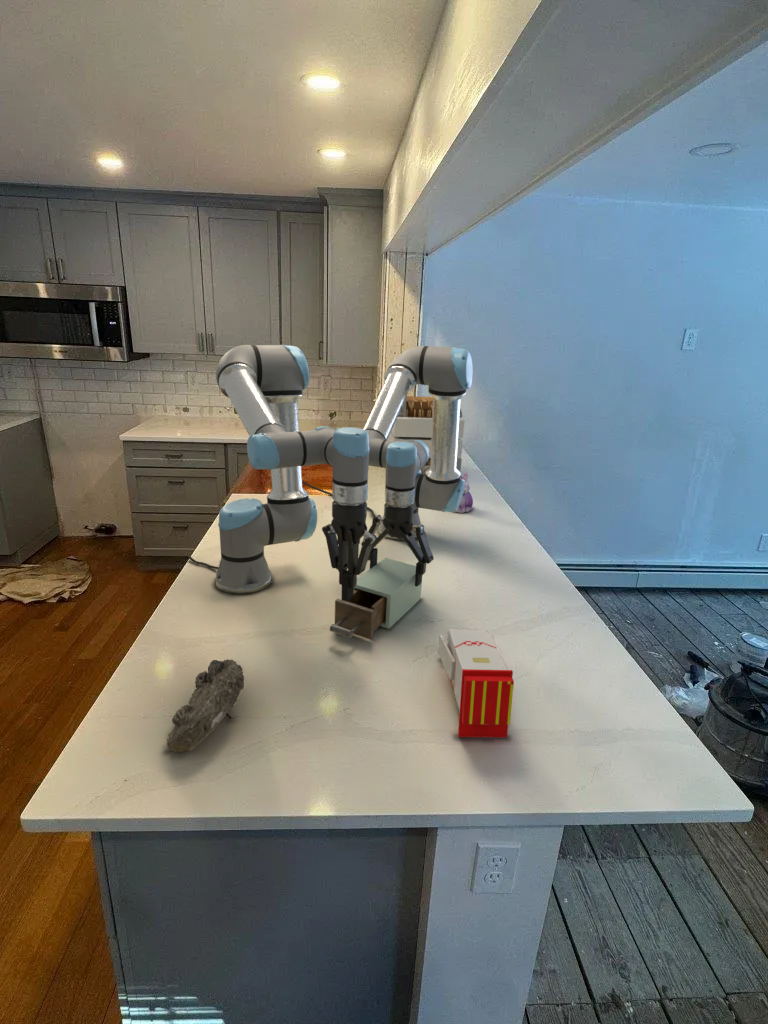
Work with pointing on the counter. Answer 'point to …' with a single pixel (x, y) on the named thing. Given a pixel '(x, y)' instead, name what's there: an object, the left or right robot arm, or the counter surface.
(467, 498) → the figurine
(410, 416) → the white storage organizer
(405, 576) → the cabinet
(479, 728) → the toy
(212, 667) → the fossil
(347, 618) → the drawer
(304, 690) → the counter surface
